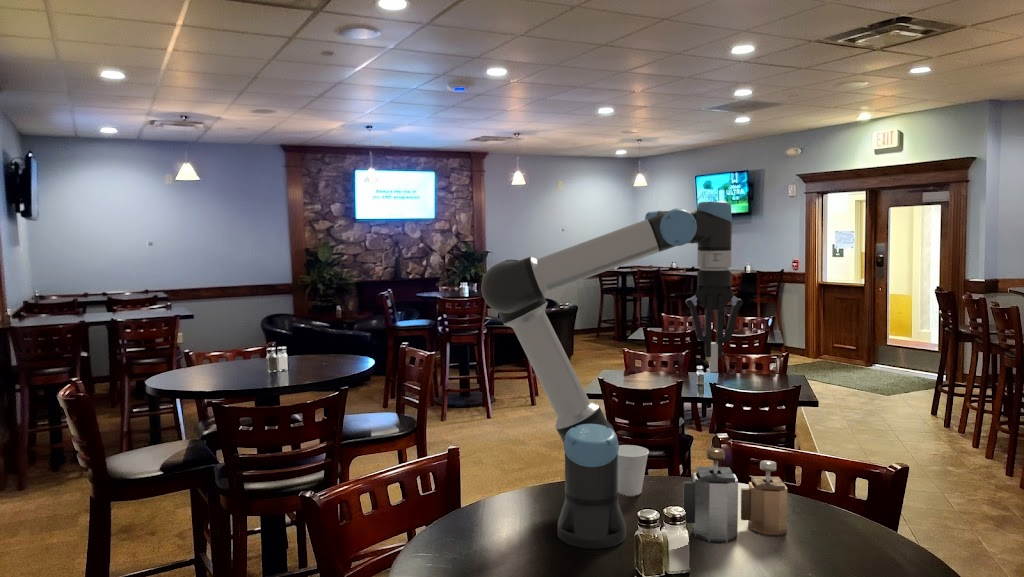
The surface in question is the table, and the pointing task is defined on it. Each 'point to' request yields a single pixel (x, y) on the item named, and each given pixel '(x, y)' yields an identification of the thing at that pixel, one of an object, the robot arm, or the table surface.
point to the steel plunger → (715, 458)
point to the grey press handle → (768, 468)
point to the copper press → (765, 506)
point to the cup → (631, 469)
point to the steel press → (712, 504)
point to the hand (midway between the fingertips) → (713, 370)
